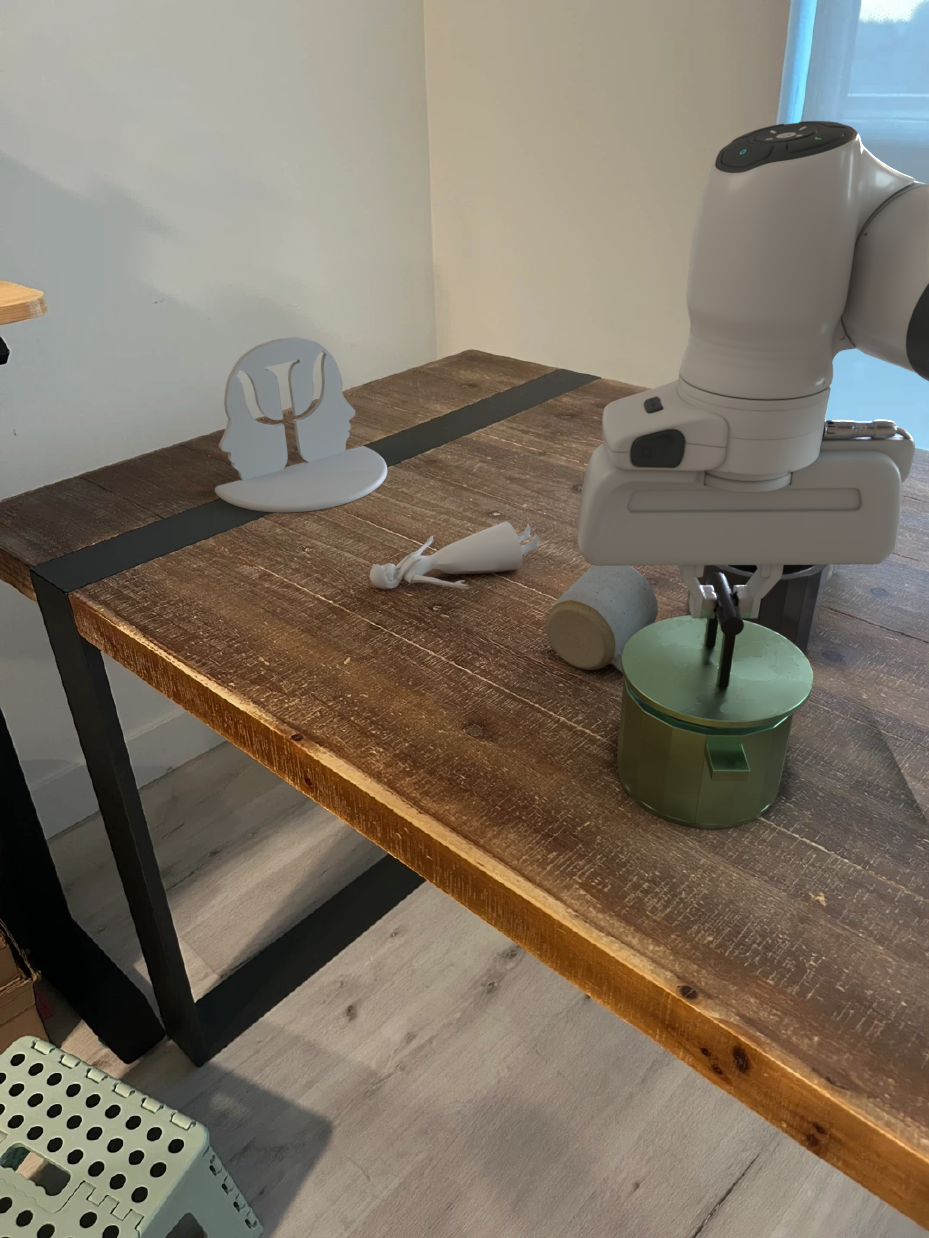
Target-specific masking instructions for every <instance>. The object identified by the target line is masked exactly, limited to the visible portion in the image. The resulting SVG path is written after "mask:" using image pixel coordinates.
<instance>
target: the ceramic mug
mask: <svg viewBox="0 0 929 1238" xmlns="http://www.w3.org/2000/svg"><path fill="white" fill-rule="evenodd" d="M658 613H659V605H658V599H657V596H656V593H655V591H654V589H653V587H652V586H651V584H650V582H649V581H648V580H647V579H646V577H645V576H644V575H642V573H641V572H639V571H638V570H637V569H636V568H634V566H594V565H591V566H590V567H589V568H588V569H587V570H586V571H585V572H584V573H583V574H582V575H581V576H580V577H579V578H578V579H577V580H576V581H575V582H574V583H573V584H572V585H571V586H569V588H568V589H567V590H566V591H565V592H564V593H563V594H562V595H561V596H560V597H559V598H558V599H557V600H556V601H555V602H554V604H553V606H552V607H551V609H550V610H549V612H548V614H547V617H546V621H545V632H546V635H547V638H548V641H549V644H550V645H551V647H552V648H553V650H554V651H555V653H557V655H558V656H559V657H560V658H561V659H562V660H563V661H565V662H566V663H568V664H569V665H571V666H573V667H574V668H577V669H580V670H585V671H595V670H600V669H603V668H604V667H606V666H608V665H613V666H614V667H615V668H616V669H617V670H618V671H619V672H621V673H622V674H623V672H622V665H621V661H622V653H623V650H624V647H625V645H626V644H627V642H628V641H629V639H630V638H631V637H632V636H633V635H634V634H635V633H637V632H638V631H639V630H641V629H642V628H644V627H646V626H648V625H650V624H653V623H655V622H656V620H657V617H658Z"/></svg>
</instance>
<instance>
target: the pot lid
mask: <svg viewBox="0 0 929 1238" xmlns="http://www.w3.org/2000/svg"><path fill="white" fill-rule="evenodd" d="M706 585H708V586H713V588H714V593H715V594H716V597H717V604H716V608H715V609H714V610H715V617H714V618H704V619H700V618H696V619H693V618H692V616H691V615H688V616H685V615H680V616H679V615H678V616H674V617H669V618H665V619H661V620H658V621H655V623H653V624H650V625H648V626H646V627H644V628H642V629H641V630H639V631H638V632H637V633H635V634H634V635H633V636H632V637H631V638H630V639H629V641H628V642H627V644H626V645H625V647H624V650H623V653H622V661H621V665H622V672H623V673H622V672H621V673H622V676H623V679H624V678H625V680H626V682H627V684H628V685H629V687H630V688H631V689H632V691H633V692H634V693H635V694H636V695H637V696H638V697H639V698H640V699H642V700H643V701H644V702H646V703H647V704H648V705H650V706H652V707H653V708H655V709H657V710H658V711H661V712H663V713H665V714H667V715H669V716H672V717H674V718H677V719H680V720H683V721H687V722H690V723H694V724H699V725H704V726H710V727H719V728H748V727H756V726H762V725H766V724H770V723H773V722H776V721H779V720H782V719H784V718H786V717H788V716H790V715H792V714H793V713H794V714H795V713H796V712H797V711H799V710H800V709H801V708H802V707H803V706H804V705H805V704H806V702H807V701H808V700H809V698H810V696H811V693H812V690H813V686H814V671H813V669H812V665H811V663H810V661H809V660H808V658H807V655H804V654H803V653H802V652H801V650H800V649H799V648H797V647H796V646H795V645H794V644H793V643H792V642H790V641H789V640H788V639H786V638H785V637H783V636H781V635H779V634H778V633H776V632H774V631H772V630H770V629H768V628H765V627H762V626H760V625H757V624H754V623H751V622H748V621H744V620H742V617H741V614H740V612H739V609H738V607H737V604H736V601H735V599H734V596H733V594H732V591H731V588H730V586H729V583H728V581H727V578H726V576H725V575H724V574H722V573H713V574H711V575H709V576H708V577H707V579H706Z"/></svg>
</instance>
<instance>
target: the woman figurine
mask: <svg viewBox="0 0 929 1238" xmlns="http://www.w3.org/2000/svg"><path fill="white" fill-rule="evenodd" d="M531 528H532V527H531V526H530V525H529V524H528V523H526V527H525V529H524V531H523V532H522V534H518V533H517V531H516V529H515V527H514V526H513V525H512V524H511V523H510V522H509V521H503V522H500V523H498V524H496V525H495V524H494V525H493V526H489V527H488V528H486V529H485V528H484V529H483V530H480V531H476V532H475V533H473V534H470V535H467V536H466V537H463V538H460V539H459V540H456V541H454V542H452V543H450V544H448V545H446V546H444V547H442V548H440V549H438V550H437V551H435V552H433V553H432V554H431V555H422V554H423V552H424V551H425V550H426V549H427V548H428V547H429V546H430V545H431V544H433V543H435V541H434V535H431V536H429V537H428V539H427V541H426V542H425V543H423V545H421V546H420V548H418V549H417V550H416V551H412V552H411V553H410V554H408V555H406V556H405V557H404V558H402V559H401V560H400V561H399V563H397V564H394V563H391V562H388V563H385V564H382V565H380V564H379V563H376V564H375V565H373V566H372V568H371V569H370V572H369V580H370V583H371V584H372V585H373V586H375V588H378V589H381V590H391V589H395V588H397V587H398V586H399V584H400V583H401V581H402V579H403V580H404V581H406V582H408V583H409V584H412V585H413V584H414V583H425V584H432V585H437V586H443V587H451V588H454V589H458V590H461V591H466V590H469V589H470V586H469V584H465V583H464V582H465V581H466V580H465V579H462V580H457V581H455V582H452V581H447V580H441V579H439V578H436V577H432V576H425V575H426V574H428V573H429V572H431V571H433V570H434V571H435V570H437V571H438V572H440V573H444V574H448V575H472V574H473V575H474V574H476V575H477V574H492V573H493V574H494V573H503V572H511V571H519V570H521V569H522V566H523V559H524V557H523V555H526V554H528V553H530V552H532V551H535V550H536V549H539V548H540V543H539V542H540V536H539V535H538V533H536V532H534V536H533V537H532V535H531V533H532V532H531V531H532V529H531ZM531 538H532V539H531ZM529 539H531V541H530V542H529V543H525V544H522V545H521V543H522V542H524V541H525V542H526V541H527V540H529Z"/></svg>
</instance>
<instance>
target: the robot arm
mask: <svg viewBox="0 0 929 1238" xmlns="http://www.w3.org/2000/svg"><path fill="white" fill-rule="evenodd" d="M702 186H703V187H702V189H701V194H700V198H699V201H698V206H697V210H696V215H695V221H694V227H693V232H692V237H691V238H692V239H691V246H690V253H689V260H688V261H689V263H688V272H687V281H686V293H685V302H686V308H687V314H688V321H689V334H688V339H687V344H686V347H685V350H684V353H683V355H682V356H681V360H680V364H679V369H678V379H676V380H674V381H671V382H668V383H665V384H662V385H660V386H656V387H654V388H650V389H647V390H644V391H641V392H637V393H634V394H632V395H628V396H624V397H622V398H619V399H616V400H613V401H611V402H609V403H607V404H606V406H605V407H604V408H603V413H602V418H601V437H602V443H601V444H600V445H599V446H598V447H596V448H595V450H594V451H593V452H592V454H591V456H590V457H589V460H588V463H587V466H586V468H585V469H586V470H585V474H584V476H583V477H584V478H583V482H582V487H581V492H580V498H579V505H578V514H577V526H576V527H577V528H576V529H577V530H576V536H577V546H578V551H579V554H580V555H581V556H582V558H583V559H584V560H585V561H586V562H587V563H588V564H590V565H591V566H593V565H594V566H631V567H635V566H677V567H678V570H679V574H680V576H681V579H682V581H683V582H684V584H685V586H686V588H687V590H689V591H690V601H689V607H690V613H691V616H692V618H693V619H696V618H700V619H704V618H714V617H715V610H714V609H715V608H716V604H717V597H716V594H715V593H714V588H713V586H708V585H700V583H699V581H698V579H697V577H702V576H703V572H704V565H756V566H757V568H758V569H757V570H756V572H755V573H754V574H753V576H752V577H751V578H750V579H749V581H748V582H747V583H746V585H734V588H733V596H734V599H735V601H736V604H737V607H738V609H739V612H740V614H741V617H742V618H757V617H758V613H759V606H760V600H761V598H763V597H764V596H765V595H766V594H767V593H768V592H769V591H770V590H771V588H772V587H773V586H774V585H775V584H776V583H777V582H778V581H779V580H780V579H781V577H782V572H783V566H784V565H833V566H836V565H879V564H882V563H883V562H884V561H885V560H887V559H888V558H889V557H890V556H891V555H892V554H893V553H894V552H895V551H896V548H897V545H898V541H899V540H898V539H899V533H900V525H901V518H902V506H903V505H902V503H903V502H902V501H903V483H904V482H905V481H906V480H907V479H908V476H909V475H910V472H911V470H912V466H913V460H914V457H915V453H916V443H915V439H914V438H913V436H912V434H911V433H910V432H909V431H908V430H907V429H905V428H903V427H900V426H897V423H896V422H895V421H894V420H893V421H892V420H890V419H889V420H888V419H875V420H871V421H855V420H847V419H845V420H844V419H843V420H842V419H840V420H839V419H838V420H835V419H834V420H833V419H832V420H830V419H829V420H828V419H827V413H828V408H829V401H830V396H831V390H832V383H833V379H834V363H833V361H834V359H835V357H836V356H837V355H838V354H839V353H841V352H843V351H849V350H855V349H857V350H858V351H860V352H861V353H863V354H864V355H867V356H869V357H871V358H874V359H877V360H881V361H883V362H886V363H888V364H891V365H893V366H896V367H899V368H901V369H904V370H907V371H909V372H912V373H914V374H917V375H918V376H919V377H920V378H922V379H923V380H925V381H927V382H929V183H928V182H921V181H917V180H916V178H914V177H913V176H909V175H907V174H906V173H905V174H904V173H902V172H900V171H898V170H896V169H894V168H892V167H891V166H889V165H887V164H886V163H884V162H882V161H881V160H880V159H878V158H877V157H875V156H874V155H873V154H872V153H871V152H870V151H869V150H868V149H867V148H866V147H865V146H864V145H863V144H862V141H861V137H860V134H859V132H858V131H857V130H856V129H855V128H854V127H852V126H850V125H847V124H844V123H840V122H837V121H830V120H829V121H828V120H803V121H799V122H793V123H786V124H785V123H778V124H773V125H768V126H765V127H761V128H757V129H754V130H752V131H749V132H747V133H744V134H742V135H740V136H737V137H736V138H734V139H733V140H732V141H731V142H729V143H728V144H727V145H725V146H723V148H721V149H720V150H719V152H717V154H716V155H715V158H714V159H713V161H712V163H711V165H710V167H709V170H708V172H707V174H706V177H705V180H704V183H703V185H702ZM896 434H897V435H896Z"/></svg>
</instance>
